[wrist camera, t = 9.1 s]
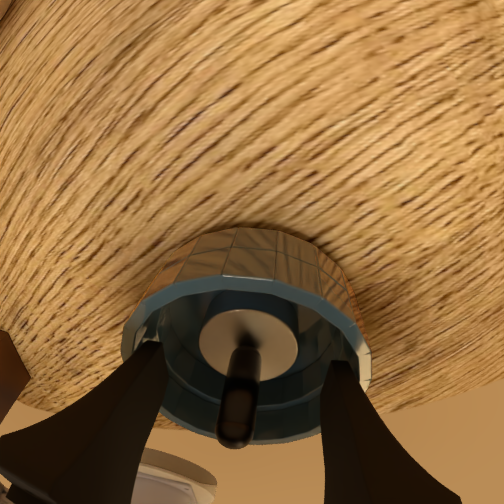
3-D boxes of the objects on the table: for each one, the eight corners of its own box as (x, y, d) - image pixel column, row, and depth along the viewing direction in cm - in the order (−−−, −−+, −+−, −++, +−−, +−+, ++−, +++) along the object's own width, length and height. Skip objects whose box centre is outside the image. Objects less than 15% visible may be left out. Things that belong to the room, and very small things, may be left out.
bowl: (331, 386, 16) (336, 448, 12) (167, 369, 16) (145, 426, 13) (374, 233, 12) (407, 289, 8) (146, 213, 12) (97, 260, 9)
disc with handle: (292, 360, 14) (289, 476, 9) (207, 351, 14) (175, 461, 9) (304, 289, 12) (312, 418, 7) (204, 280, 13) (155, 399, 7)
